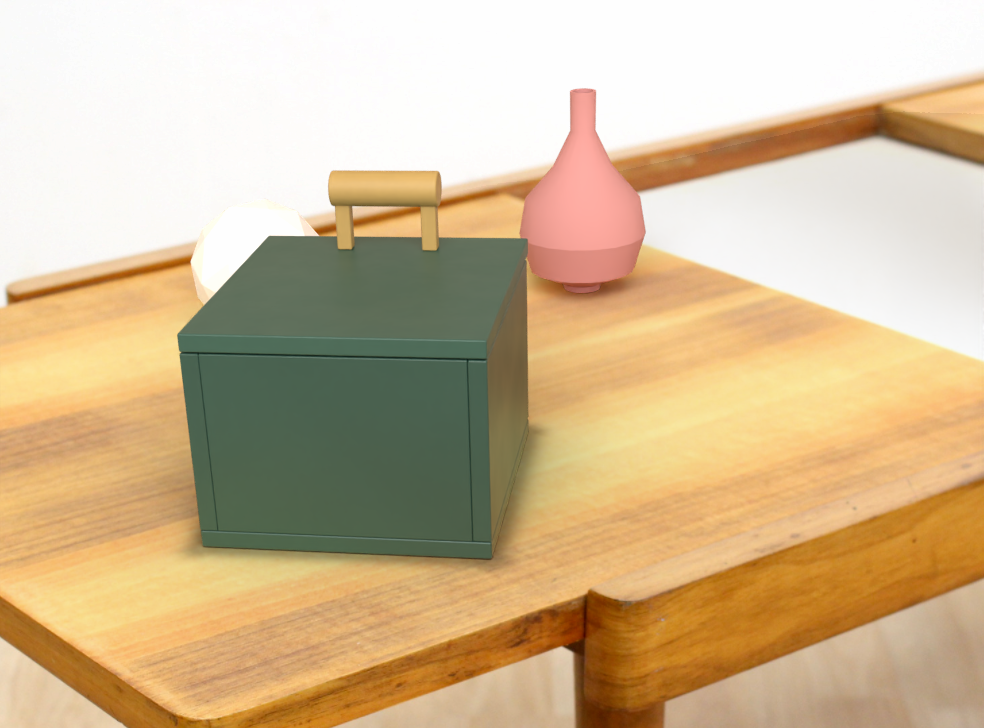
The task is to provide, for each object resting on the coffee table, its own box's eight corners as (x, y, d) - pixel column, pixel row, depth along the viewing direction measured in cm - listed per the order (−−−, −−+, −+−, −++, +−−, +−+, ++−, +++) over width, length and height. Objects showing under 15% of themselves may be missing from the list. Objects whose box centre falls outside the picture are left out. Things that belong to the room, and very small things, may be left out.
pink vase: (633, 309, 93) (637, 105, 87) (508, 303, 94) (505, 103, 89) (652, 271, 99) (656, 79, 94) (535, 266, 101) (533, 77, 96)
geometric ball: (271, 385, 91) (223, 308, 84) (197, 311, 95) (145, 230, 88) (369, 304, 92) (329, 221, 85) (291, 233, 96) (248, 148, 89)
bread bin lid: (269, 251, 75) (261, 160, 73) (528, 254, 73) (527, 160, 71) (178, 352, 63) (165, 246, 61) (487, 359, 61) (484, 250, 59)
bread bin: (281, 424, 79) (266, 255, 75) (528, 432, 77) (526, 259, 73) (201, 547, 67) (178, 353, 63) (492, 559, 65) (487, 361, 61)
